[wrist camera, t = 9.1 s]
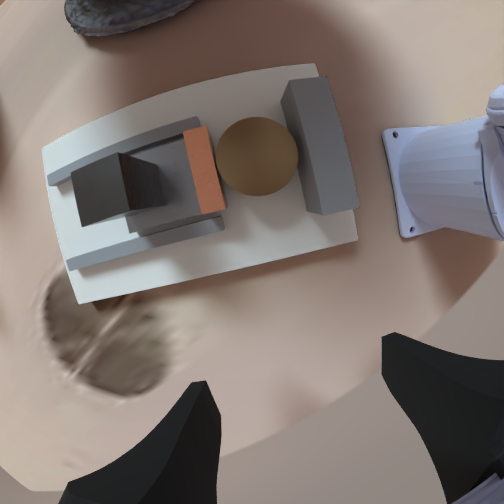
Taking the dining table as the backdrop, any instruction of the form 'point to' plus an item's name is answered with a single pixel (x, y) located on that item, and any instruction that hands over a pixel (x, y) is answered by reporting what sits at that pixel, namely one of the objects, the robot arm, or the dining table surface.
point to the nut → (257, 156)
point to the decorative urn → (118, 14)
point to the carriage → (152, 184)
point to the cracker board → (239, 205)
